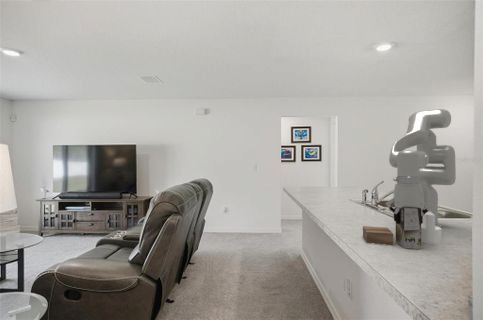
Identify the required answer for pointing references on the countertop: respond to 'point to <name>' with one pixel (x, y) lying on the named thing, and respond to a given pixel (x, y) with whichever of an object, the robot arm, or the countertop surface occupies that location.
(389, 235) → the walnut block
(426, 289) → the countertop surface
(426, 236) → the base with upright slab
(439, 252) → the countertop surface
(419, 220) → the coffee box
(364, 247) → the countertop surface
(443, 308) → the countertop surface
